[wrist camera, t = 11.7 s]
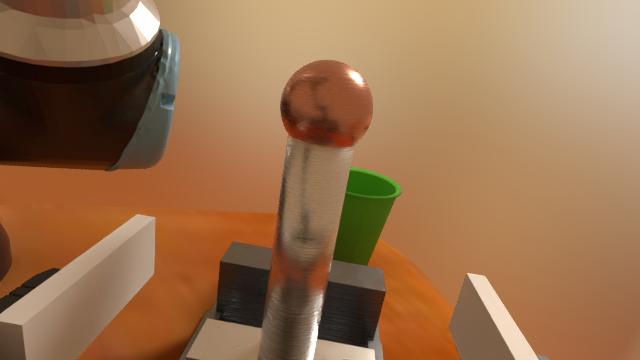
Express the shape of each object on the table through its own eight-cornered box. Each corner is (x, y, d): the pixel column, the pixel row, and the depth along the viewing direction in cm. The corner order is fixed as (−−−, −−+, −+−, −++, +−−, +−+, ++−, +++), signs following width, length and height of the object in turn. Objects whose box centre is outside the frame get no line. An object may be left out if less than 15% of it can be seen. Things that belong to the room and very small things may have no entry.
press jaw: (359, 471, 20) (468, 83, 13) (177, 436, 20) (198, 37, 14) (357, 405, 24) (442, 78, 17) (205, 376, 24) (231, 42, 17)
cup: (365, 251, 47) (383, 170, 43) (391, 296, 39) (417, 200, 35) (295, 248, 45) (308, 162, 41) (307, 295, 36) (325, 193, 33)
